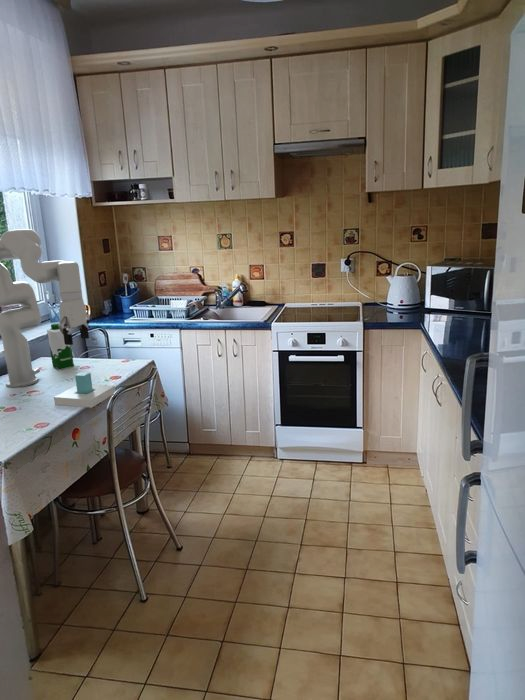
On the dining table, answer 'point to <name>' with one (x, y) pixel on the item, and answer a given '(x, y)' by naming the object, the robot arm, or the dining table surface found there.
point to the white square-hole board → (84, 396)
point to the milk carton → (59, 348)
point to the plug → (84, 383)
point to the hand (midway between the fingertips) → (77, 341)
